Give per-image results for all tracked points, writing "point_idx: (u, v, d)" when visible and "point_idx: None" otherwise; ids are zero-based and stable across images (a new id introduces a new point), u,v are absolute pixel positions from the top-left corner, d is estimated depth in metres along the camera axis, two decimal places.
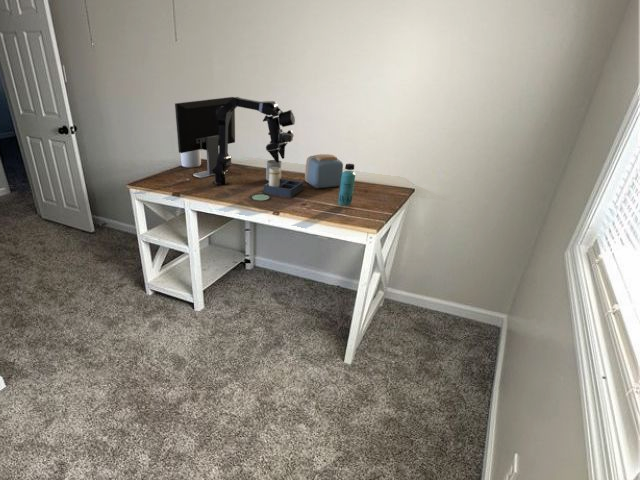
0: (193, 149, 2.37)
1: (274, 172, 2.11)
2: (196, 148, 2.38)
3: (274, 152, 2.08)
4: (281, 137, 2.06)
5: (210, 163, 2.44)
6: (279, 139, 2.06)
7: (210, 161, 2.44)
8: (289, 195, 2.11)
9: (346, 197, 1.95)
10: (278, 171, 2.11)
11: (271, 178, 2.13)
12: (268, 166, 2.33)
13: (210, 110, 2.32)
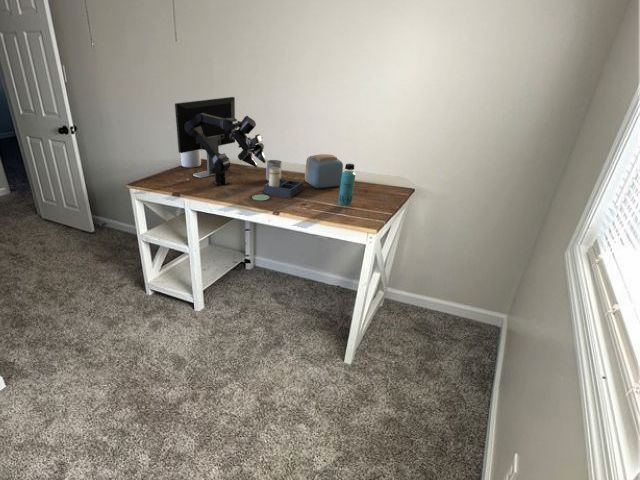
0: (193, 149, 2.37)
1: (274, 172, 2.11)
2: (196, 148, 2.38)
3: (248, 159, 2.11)
4: (249, 143, 2.10)
5: (210, 163, 2.44)
6: (248, 145, 2.11)
7: (210, 161, 2.44)
8: (289, 195, 2.11)
9: (346, 197, 1.95)
10: (278, 171, 2.11)
11: (271, 178, 2.13)
12: (268, 166, 2.33)
13: (210, 110, 2.32)
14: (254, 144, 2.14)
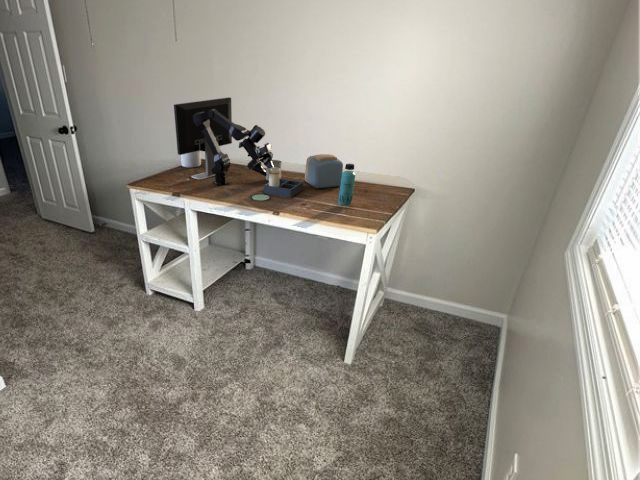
0: (192, 150, 2.33)
1: (274, 172, 2.11)
2: (195, 149, 2.35)
3: (258, 168, 2.11)
4: (259, 152, 2.10)
5: (209, 164, 2.42)
6: (258, 154, 2.11)
7: (209, 162, 2.41)
8: (289, 195, 2.11)
9: (346, 197, 1.95)
10: (278, 171, 2.11)
11: (271, 178, 2.13)
12: None
13: None
14: (263, 153, 2.14)
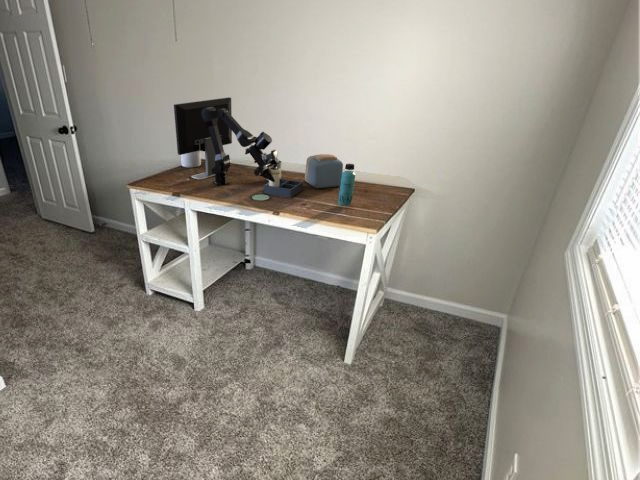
0: (192, 150, 2.33)
1: (274, 172, 2.11)
2: (195, 149, 2.35)
3: (266, 173, 2.12)
4: (265, 159, 2.10)
5: (209, 164, 2.42)
6: (264, 161, 2.10)
7: (209, 162, 2.41)
8: (289, 195, 2.11)
9: (346, 197, 1.95)
10: (278, 171, 2.11)
11: None
12: None
13: None
14: (270, 159, 2.14)
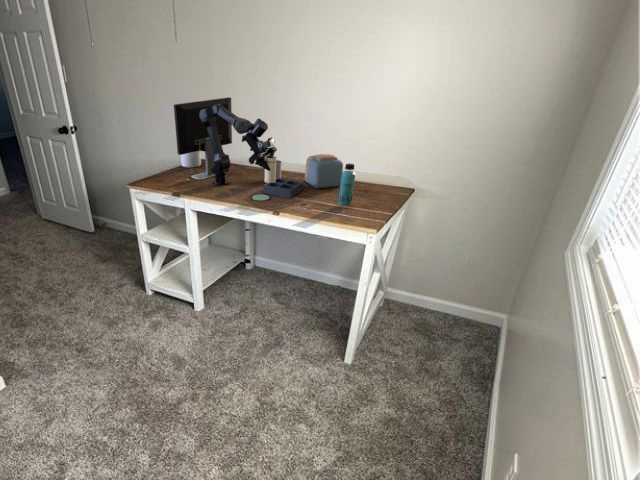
0: (192, 150, 2.33)
1: (270, 160, 2.04)
2: (195, 149, 2.35)
3: (261, 162, 2.06)
4: (261, 146, 2.03)
5: (209, 164, 2.42)
6: (260, 149, 2.04)
7: (209, 162, 2.41)
8: (289, 195, 2.11)
9: (346, 197, 1.95)
10: (274, 160, 2.05)
11: None
12: None
13: None
14: (266, 148, 2.07)
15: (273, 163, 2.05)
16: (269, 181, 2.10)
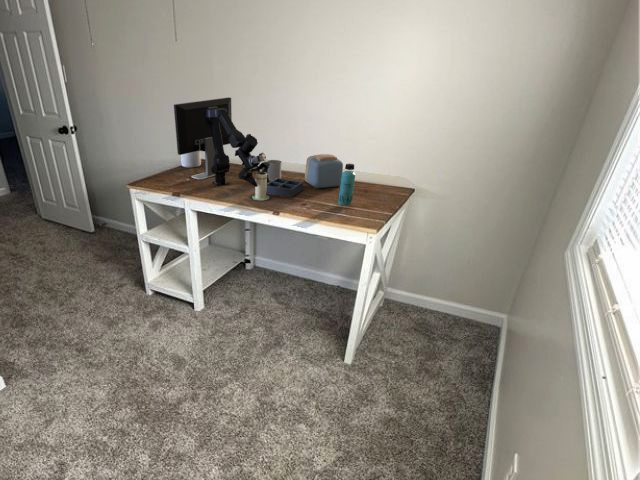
0: (192, 150, 2.33)
1: (259, 177, 2.04)
2: (195, 149, 2.35)
3: (249, 178, 2.04)
4: (251, 161, 2.03)
5: (209, 164, 2.42)
6: (250, 164, 2.04)
7: (209, 162, 2.41)
8: (289, 195, 2.11)
9: (346, 197, 1.95)
10: (264, 176, 2.04)
11: None
12: None
13: None
14: (258, 163, 2.06)
15: (263, 179, 2.04)
16: (259, 197, 2.09)
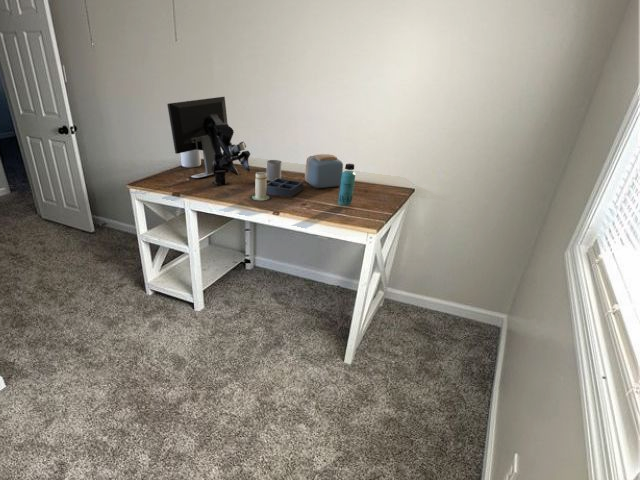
0: (189, 149, 2.34)
1: (259, 177, 2.04)
2: (192, 148, 2.36)
3: (230, 166, 2.08)
4: (231, 150, 2.07)
5: (207, 162, 2.42)
6: (231, 153, 2.08)
7: (207, 160, 2.41)
8: (289, 195, 2.11)
9: (346, 197, 1.95)
10: (264, 176, 2.04)
11: (256, 183, 2.06)
12: (268, 166, 2.33)
13: (202, 109, 2.32)
14: (238, 151, 2.11)
15: (263, 179, 2.04)
16: (259, 197, 2.09)
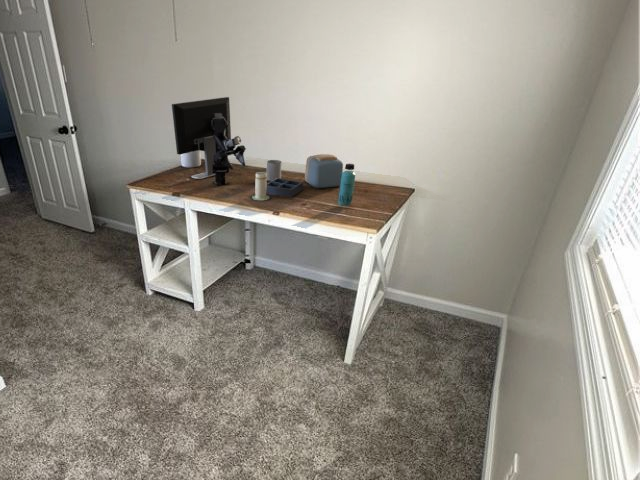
0: (191, 150, 2.34)
1: (259, 177, 2.04)
2: (194, 149, 2.35)
3: (224, 161, 2.07)
4: (226, 145, 2.06)
5: (208, 164, 2.42)
6: (226, 147, 2.07)
7: (208, 162, 2.41)
8: (289, 195, 2.11)
9: (346, 197, 1.95)
10: (264, 176, 2.04)
11: (256, 183, 2.06)
12: (268, 166, 2.33)
13: (206, 110, 2.30)
14: (233, 146, 2.10)
15: (263, 179, 2.04)
16: (259, 197, 2.09)
